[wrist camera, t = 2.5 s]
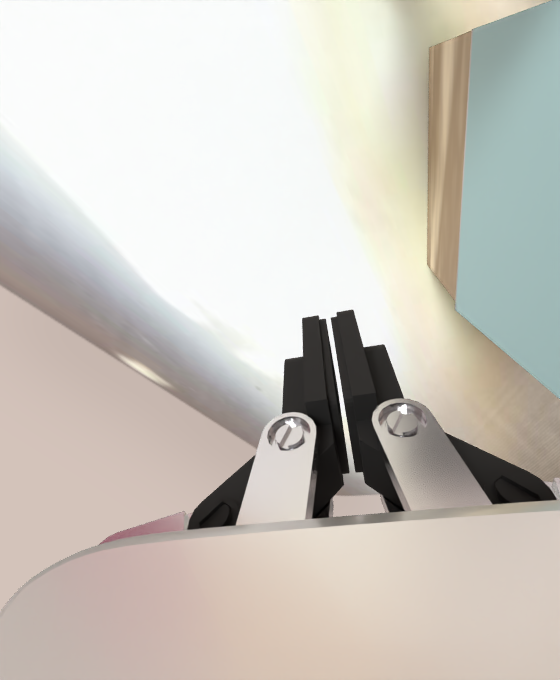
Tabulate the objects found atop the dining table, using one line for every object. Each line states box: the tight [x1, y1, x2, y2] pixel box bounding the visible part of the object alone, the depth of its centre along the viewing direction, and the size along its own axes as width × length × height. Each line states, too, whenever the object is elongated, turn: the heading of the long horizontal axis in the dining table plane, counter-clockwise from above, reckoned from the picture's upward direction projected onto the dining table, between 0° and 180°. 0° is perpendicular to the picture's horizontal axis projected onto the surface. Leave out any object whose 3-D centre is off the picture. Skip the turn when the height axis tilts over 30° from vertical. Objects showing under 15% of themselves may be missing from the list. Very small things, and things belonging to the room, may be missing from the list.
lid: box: [455, 0, 560, 399], centre depth 16 cm, size 14×16×2 cm
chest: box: [427, 31, 472, 300], centre depth 24 cm, size 14×16×8 cm
